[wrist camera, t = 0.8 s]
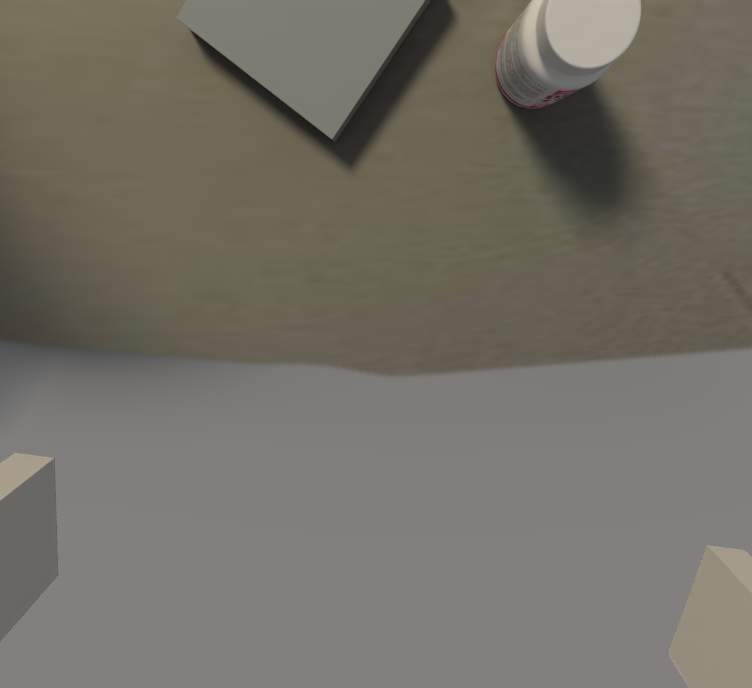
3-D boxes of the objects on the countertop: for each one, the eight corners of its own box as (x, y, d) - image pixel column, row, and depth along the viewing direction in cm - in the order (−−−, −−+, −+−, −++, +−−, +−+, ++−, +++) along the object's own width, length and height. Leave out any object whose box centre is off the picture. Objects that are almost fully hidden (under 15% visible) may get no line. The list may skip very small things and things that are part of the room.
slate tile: (189, 29, 29) (176, 18, 27) (289, -146, 27) (281, -172, 25) (335, 142, 31) (332, 139, 29) (440, -14, 29) (444, -29, 27)
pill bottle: (531, 128, 31) (585, 105, 22) (475, 66, 30) (510, 18, 22) (595, 62, 30) (675, 13, 22) (539, -4, 29) (600, -81, 21)
